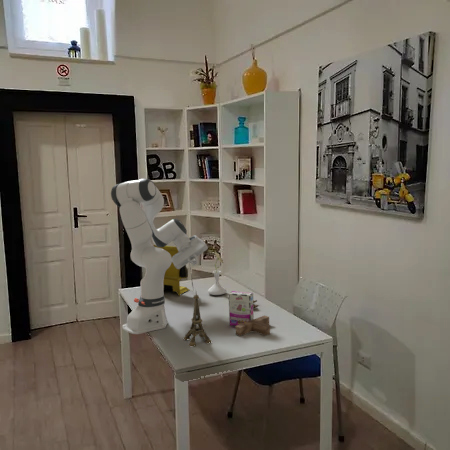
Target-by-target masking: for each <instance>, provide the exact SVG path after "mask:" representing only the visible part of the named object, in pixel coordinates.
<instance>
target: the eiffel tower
mask: <svg viewBox="0 0 450 450" xmlns="http://www.w3.org/2000/svg"><path fill="white" fill-rule="evenodd" d="M193 299H194V305H193V314H192V318H191V326H190V327H189V330H188V331H187V332H186V333H185V335H184V337H183V338H184V339H185V341H188V340H187V339H190V340H189V343H188V344H189V345H188V347H190V346H193V347H197V345H196V337H197V336H198V337H200V338H203V339H204V342H205V344H207V343H209V342H210V343H209V344H212V343H211V341H212V339H210V338H209V336H208V334H207V333H206V332H205V328H204V326H203V318H201V312H200V305H199V304H200V303H199V299H200V297H199V294H197V292H195V295H193ZM184 339H183V340H184ZM194 345H195V346H194Z"/></svg>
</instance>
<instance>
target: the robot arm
mask: <svg viewBox="0 0 450 450" xmlns="http://www.w3.org/2000/svg"><path fill="white" fill-rule="evenodd" d="M110 196H111V200H112V201H113V203H114V204H115V205H116V206H117V207H118V208H119V214H120V217H121V218H120V219H121V221H122V225H123V227H124V229H125V232H126V233H127V236H128V238H129V241H130V244H131V250H130V251H131V252H130V261H132V263H134V264H135V265H136V266H139V267H141V268H145V274H144V277H142V278H141V280H140V297H139V298H137V297H136V298H135V297H134V299H133V302H134V303H136V304H137V305H136V307H134V308H133V310H131V312H130V313H128V315H127V318H126V323H124V324H122V330H123V331H124V332H127V333H128V334H131V335H140V334H145V333H149V332H150V333H151V332H153V331H158V330H163V329H166V327H167V325H168V324H169V320H168V318H167V314H166V308H165V305H166V304H165V302H166V301H165V300H166V299H165V294H164V290H163V280H164V275H165V272H166V270H167V269H168V268H169V267H170V265H171V262H172V263H173V264H174V266H175V267H176V268H177V269H180V268H182V267H183V266H184V265H186V266H187V264H192V266H194V265H196V264H198V263H199V261H198V259H199V258H198V257H199V256H200V255H202V253H204V252H206V251H207V250H208V248H209V246H208V245H207V244H206V243H205V242H204V240H203V239H202V238H200V237H199V236H198V235H192V236H191V237H189V235H188V234H187V231H188V230H187V228H186V227H185V226H184V224H183V222H182V221H181V220H180V219H178V218H173V219H171V220H169V221H167V223H165V224H164V225H162V226H160V227H158V228H156V226H155V223H154V221H155V218H156V216H158V214H160V212H161V211H162V209H163V208H164V203H165V199H164V197H163V195H162V193H161V191H160V190H159V188H158V187H157V186H156V184H155V183H154V181H153V180H151V179H149V178H140V179H135V180H128V181H124V182H121V183H117V184H114V185H113V187H111V191H110ZM140 204H141V205H142V207H141V205H140ZM152 242H153V244H152ZM171 242H173V244H174V246H175V247H176V248H177V249H178V251H179V252H178V253H177V254H175V255H174V256H173V257H171V255H170V253H169V252H167V251H166V250H164V249H162V248H157V247H165V246H168V245H169V244H170V243H171ZM153 245H156V246H157V247H154V246H153Z"/></svg>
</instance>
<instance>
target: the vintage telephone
mask: <svg viewBox="0 0 450 450" xmlns="http://www.w3.org/2000/svg"><path fill="white" fill-rule="evenodd" d="M152 245H153V246H154V247H157V246H156V245H155V244H152ZM157 248H162V249H164V250H166V251H167V252H169V253H170V255H171V257H173V256H174V255H175V254H177V253H178V252H179V251H178V249H177V248H176V246H175V245H173V246H172V245H171V246H170V245H166V246H165V247H157ZM189 267H190V271H192V268H191V266H189ZM188 275H189V273H188V268H187V264H186V265H184V266H183V267H182V268H180V269H177V268H176V267H175V266H174V264H173V263H172V262H171V265H170V267H169V268H168V269H167V270H166V272H165V275H164V280H163V291H165V290H164V289H166V290H168V289H172V292H176V294H178V296H179V297H181V295H182V293H183V294H184V292H185V293H187V292H189V291H191V292H193V293H194V291H195V290H194V289H195V288H192V289H193V290H191V289H189V288H188V287H187V286H182V285H181V284H180V280H182V279H187V278H188ZM192 275H193V274H190V277H191V278H190V279H191V280H193V276H192ZM191 285H192V286H191V287H194V283H193V281H191ZM167 288H168V289H167ZM188 290H189V291H188ZM186 291H187V292H186ZM180 294H181V295H180Z"/></svg>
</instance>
